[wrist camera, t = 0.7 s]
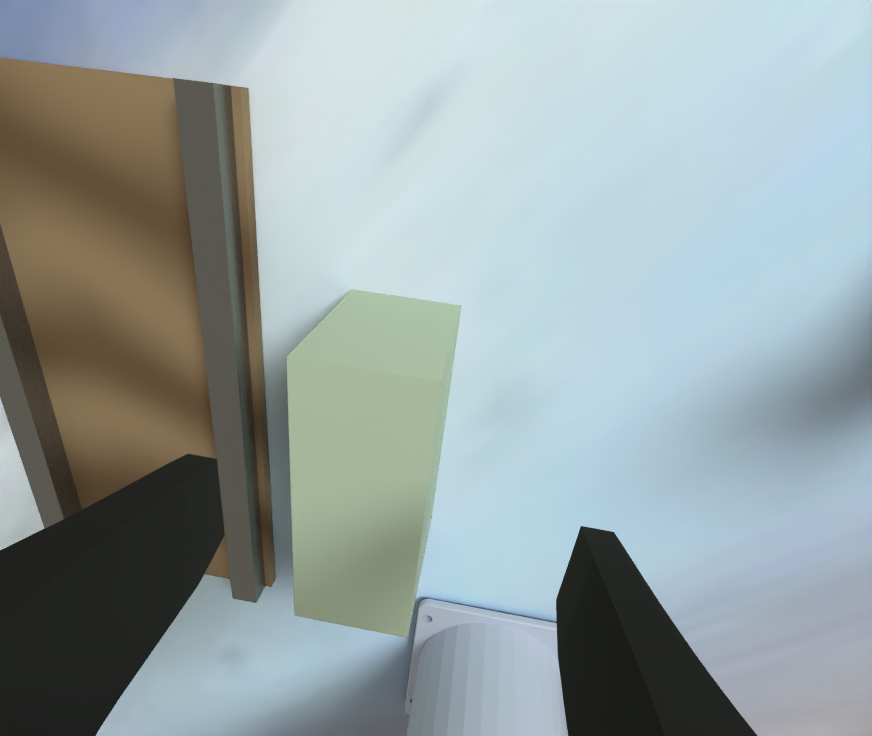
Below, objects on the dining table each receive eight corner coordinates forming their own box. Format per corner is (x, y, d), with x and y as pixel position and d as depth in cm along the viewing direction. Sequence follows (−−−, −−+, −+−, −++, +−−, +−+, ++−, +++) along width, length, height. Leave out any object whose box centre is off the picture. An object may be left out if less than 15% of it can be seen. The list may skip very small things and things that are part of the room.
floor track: (275, 578, 25) (262, 604, 24) (74, 540, 26) (51, 562, 25) (248, 88, 15) (223, 84, 14) (-76, 48, 16) (-129, 41, 15)
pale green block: (432, 514, 22) (407, 637, 17) (345, 498, 22) (294, 615, 17) (461, 304, 18) (441, 381, 12) (353, 288, 18) (286, 356, 12)
